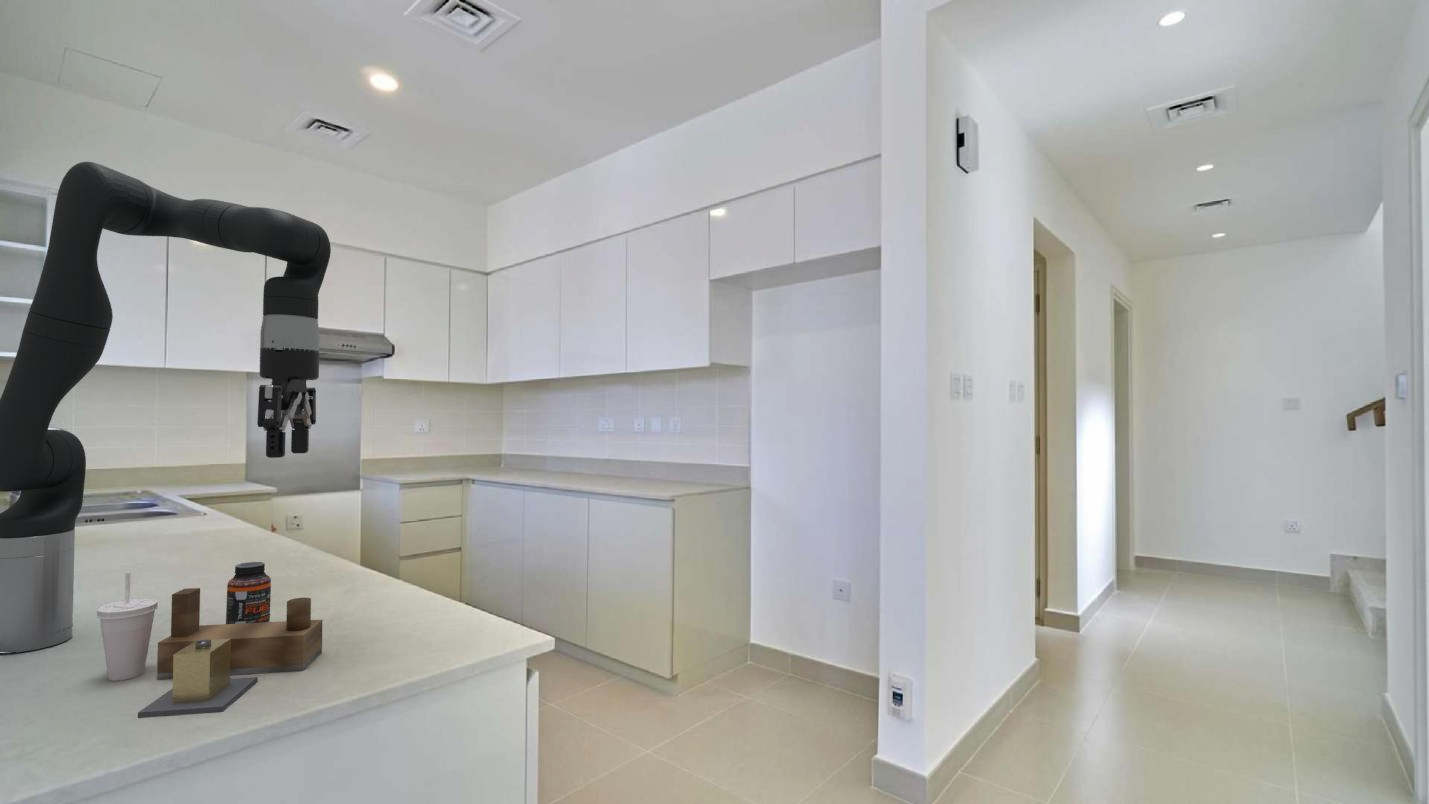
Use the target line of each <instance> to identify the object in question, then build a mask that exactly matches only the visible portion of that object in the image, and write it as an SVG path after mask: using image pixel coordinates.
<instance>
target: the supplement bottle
mask: <svg viewBox="0 0 1429 804" xmlns="http://www.w3.org/2000/svg"><path fill="white" fill-rule="evenodd" d="M265 566H266V565H265V562H263V561H250V562H249V561H248V562H241V563H238V564H236V565H235V567H234V576H232V577H233V578H232V577H231V579H229V580H228V581H227V585H226V586H227V587H226V605H225V606H226V609H225V612H226V613H225V624H241V623H262V622H271V621H270V619H271V600H272V599H271V588H272V583H271V582H272V581H271V580H272V578H271V576H270V575H267V574H266V572H265V569H266V568H265Z"/></svg>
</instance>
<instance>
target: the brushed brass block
mask: <svg viewBox="0 0 1429 804" xmlns="http://www.w3.org/2000/svg"><path fill="white" fill-rule="evenodd" d="M230 659H231V639H215V640H209V639H206V640H197V641H195V642H193V643H192V644H190V645H188V646H187V647H185V648H183V649H182V650H180V651H178V652H177V653H175V654H174V655H173V679H172V688H173V699H172V703H182V702H197V701H209V700H211V699H212V698H213V697H214V696H216V695H217V694H218V693H219V692H221V691H222V690H223V689H224V688H226V687H227V686H228V685H229V684H230V679H231V675H230Z"/></svg>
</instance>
